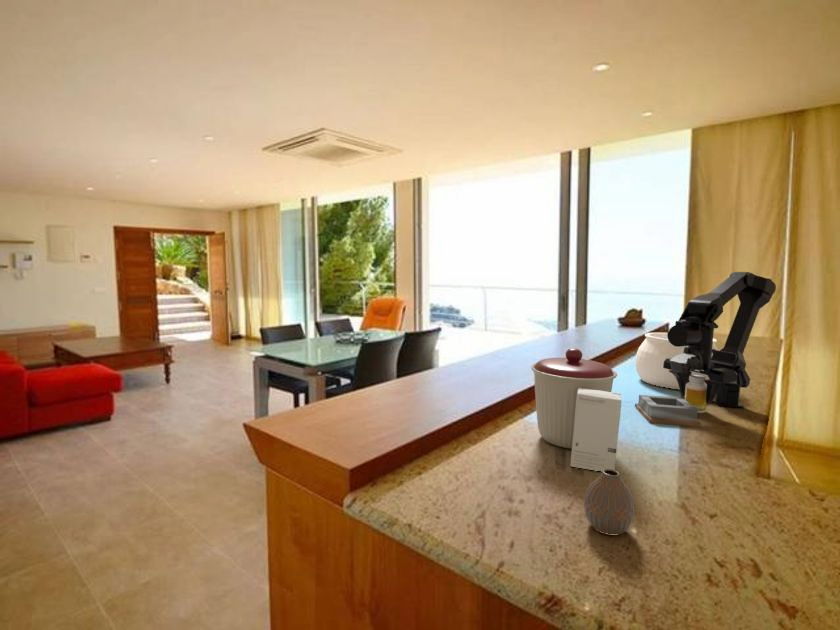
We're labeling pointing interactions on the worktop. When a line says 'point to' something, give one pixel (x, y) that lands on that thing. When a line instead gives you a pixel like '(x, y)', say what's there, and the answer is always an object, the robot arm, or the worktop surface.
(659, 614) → the worktop surface
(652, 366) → the pot
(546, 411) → the canister
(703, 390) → the supplement bottle
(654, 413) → the socket board
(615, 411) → the skincare box
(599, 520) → the vase
